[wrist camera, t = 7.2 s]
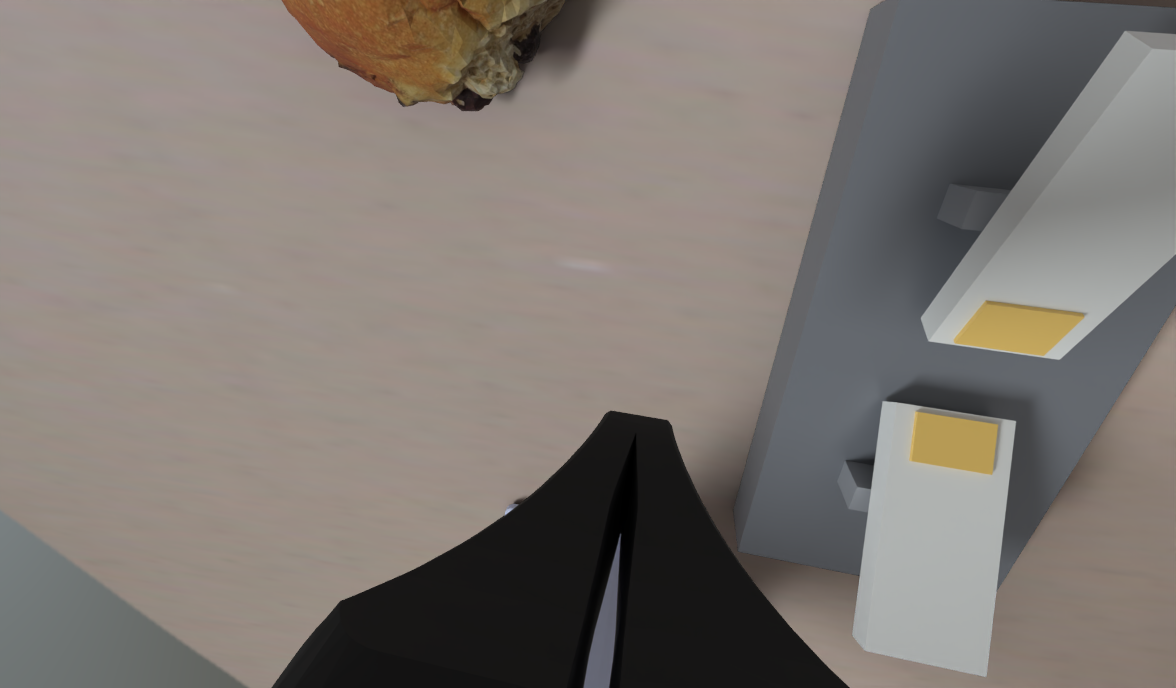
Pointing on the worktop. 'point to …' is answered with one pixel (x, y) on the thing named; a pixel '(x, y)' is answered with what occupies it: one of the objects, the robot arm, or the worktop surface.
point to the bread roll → (430, 44)
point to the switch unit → (933, 272)
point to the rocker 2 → (1076, 216)
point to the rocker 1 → (934, 536)
